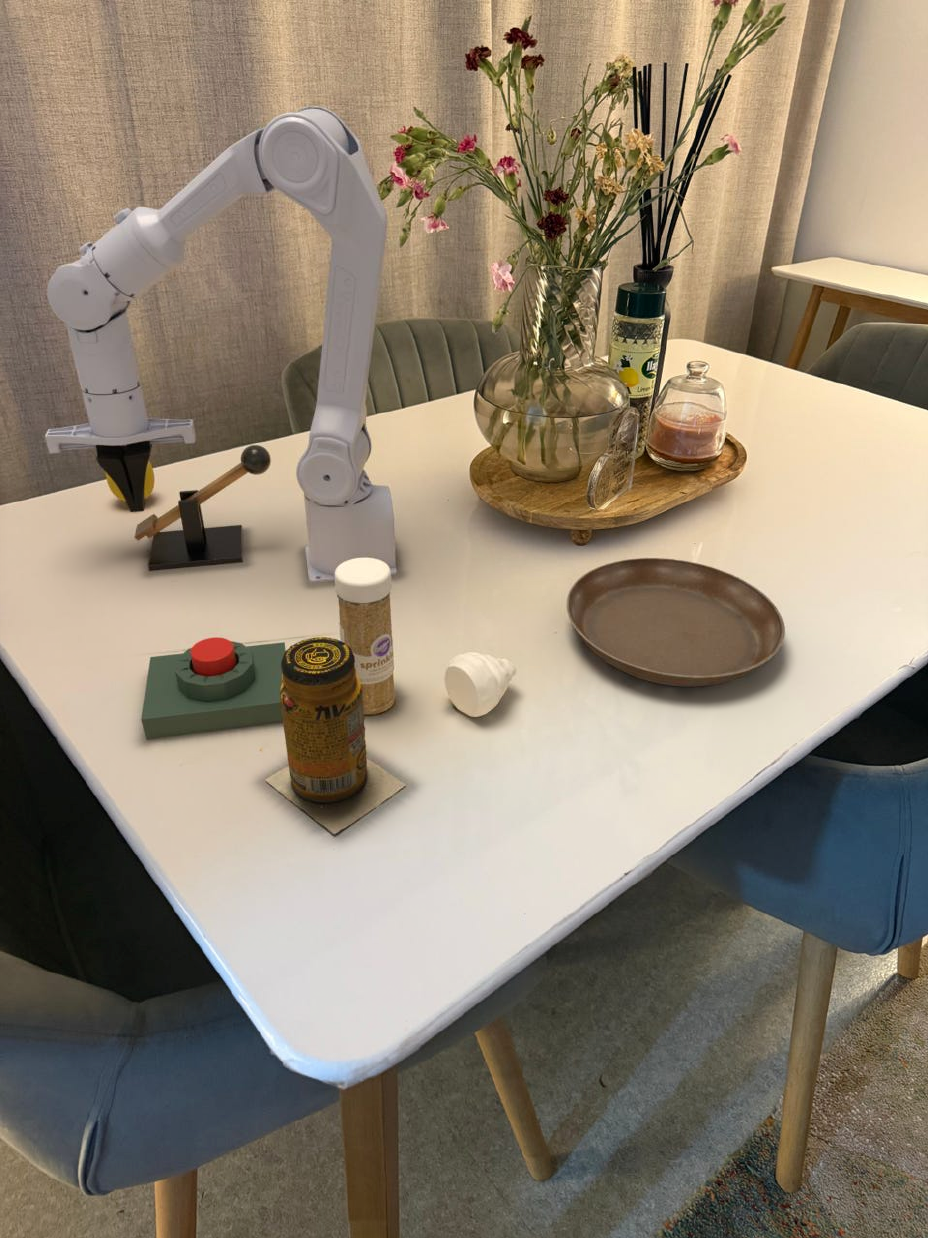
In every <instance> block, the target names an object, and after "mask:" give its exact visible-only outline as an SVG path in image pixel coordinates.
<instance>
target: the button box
mask: <svg viewBox="0 0 928 1238" xmlns="http://www.w3.org/2000/svg"><path fill="white" fill-rule="evenodd" d="M230 641H231V642H232V644H233V646H234V652H235V658H236V665H235V667H234V669H233V670H231V671H229V672H226V673H224V674H222V675H217V676H208V677H206V676H201V675H198V674H196V673H195V671H194V669H193V664H192V659H191V654H190V651H191V648H192V647H190V648H188V649H186V650H185V651H184V652H183V653H175V654H174V653H173V654H165V655H158V656H157V655H155V656H150V657H149V663H148V669H147V677H146V686H145V691H144V699H143V705H142V712H141V724H142V729H143V732H144V735H145V739H146V740H152V739H160V738H169V737H176V736H183V735H191V734H199V733H208V732H215V731H223V730H230V729H231V730H232V729H240V728H246V727H254V726H262V725H271V724H279V723H283V716H282V708H281V700H280V689H281V686H282V683H283V681H282V668H281V661H282V658H283V656H284V654H285V652H286V651H287V649H286V643H285V641H283V642H273V643H266V644H257V645H256V644H255V645H247V646H246V645H245V644H244V643H242V642H237V641H232V640H230Z"/></svg>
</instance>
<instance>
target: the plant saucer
mask: <svg viewBox="0 0 928 1238" xmlns="http://www.w3.org/2000/svg"><path fill="white" fill-rule="evenodd" d="M566 613H567V615H568V618H569V620H570V622H571V623H570V624H572V626H573V628H574V630H575V632H576V634H578V636H579V637H580V639H581V640H582V641H583V643H585V644H586V646H588V647H589V649H590V650H591V651H592V652H593V653H594V654H596V655H597V657H600V658H601V659H602V660H603V661H605V662H606V663H608V664H609V665H611V666H612V667H613V668H616V669H618V670H620V671H621V672H624V673H626V674H627V675H630V676H633V677H635V678H638V679H641V680H644V681H648V682H651V683H656V684H660V685H665V686H672V687H689V688H691V687H694V688H695V687H706V686H707V687H708V686H712V685H713V686H714V685H719V684H723V683H726V682H730V681H733V680H737V679H739V678H742V677H744V676H747V675H748V674H750V673H752V672H754V671H755V670H757V669H759V668H760V667H762V666H763V665H764V664H766V663H768V662H769V661H770V660H771V659H772V658H773V657H774V656H776V654H777V653H778V651H779V650H780V648H781V647H782V645H783V643H784V640H785V635H786V627H785V623H784V619H783V616H782V614H781V613H780V611H779V609H778V608H777V606H776V605H775V604H774V603H773V601H772V600H771V599H770V598H769V597H768V596H767V595H766V594H765V593H764V592H762V591H761V590H760V589H758V588H757V587H755V586H754V585H752V584H751V583H749V582H747V581H746V580H745V579H742V578H740V577H738V576H736V575H734V574H731V573H729V572H726V571H724V570H721V569H719V568H716V567H713V566H709V565H705V564H703V563H702V564H701V563H698V562H694V561H688V560H683V559H674V558H664V557H663V558H662V557H641V558H639V557H638V558H630V559H622V560H617V561H613V562H609V563H606V564H603V565H600V566H598V567H595V568H593V569H591V570H589V571H587V572H586V573H585V574H583V575H582V576H580V577H579V578H578V579H577V580H576V581H575V582H574V583H573V585H572V586H571V588H570V589H569V591H568V594H567V598H566Z"/></svg>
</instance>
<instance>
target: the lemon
mask: <svg viewBox="0 0 928 1238" xmlns="http://www.w3.org/2000/svg"><path fill="white" fill-rule="evenodd" d="M105 476H106V482H107V485H108V488H109V490H110V492H111V493H112V494H113V495H114V497H116V498H117V499H119V500H120V501H122V502H124V503H127V502H126V500H125V498H124V497H123V495H122V493H121V491H120V490H119V488H118V487H117V485H116V484H115V482H114V481H113V480H112V479H111V477H110V476H109V475H108V474H107V473H106V472H105ZM154 487H155V472H154V469H153V466H152V463H151V461H150V459H149V460H148V464H147V468H146V475H145V486H144V495H145V500H146V499H148V498H149V497H150V495H151V494H152V493H153V490H154Z"/></svg>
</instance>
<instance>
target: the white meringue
mask: <svg viewBox="0 0 928 1238" xmlns="http://www.w3.org/2000/svg"><path fill="white" fill-rule="evenodd" d="M516 674H517V668H516V666H515V665H514V664H513V663H512V662H511V661H510V660H508V659H507V658H498V657H495V655H492V654H486V653H485V654H483V653H480V652H477V651H476V652H475V651H468V652H465V653H461V654H459V655H456V656H454V657H453V658H452V659H450V661H449V662H448V665H447V668H446V669H445V673H444V687H445V690H446V692H447V696H448V697H449V699H450V701H451V703H452V704H453V706H455V707H456V709H457V710H459V711H460V712H462V713H463V714H465V715H467V716H469V717H471V718H479V717H482V716H485V715H487V714H488V713H489V712H491V711H492V710H493V709H494V708H495V707H496V706H497V705H498V703H499V702H500V700H501V699H502V697H503V696H504V694H505V692H506V691H507V689H508V686H509V684H510V682H511V681H512V680H513V678H514V677H515V675H516Z"/></svg>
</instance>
